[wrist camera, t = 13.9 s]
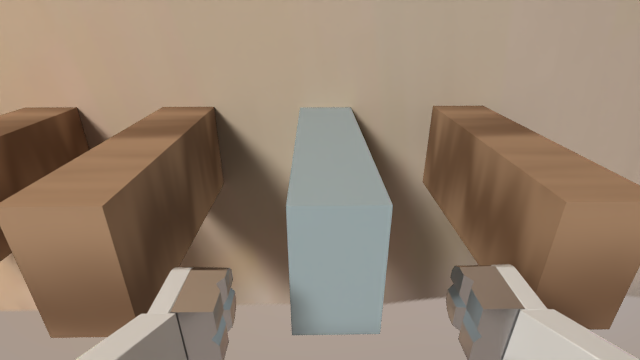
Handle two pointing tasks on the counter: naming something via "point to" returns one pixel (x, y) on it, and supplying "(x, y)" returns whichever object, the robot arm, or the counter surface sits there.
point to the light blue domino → (336, 227)
